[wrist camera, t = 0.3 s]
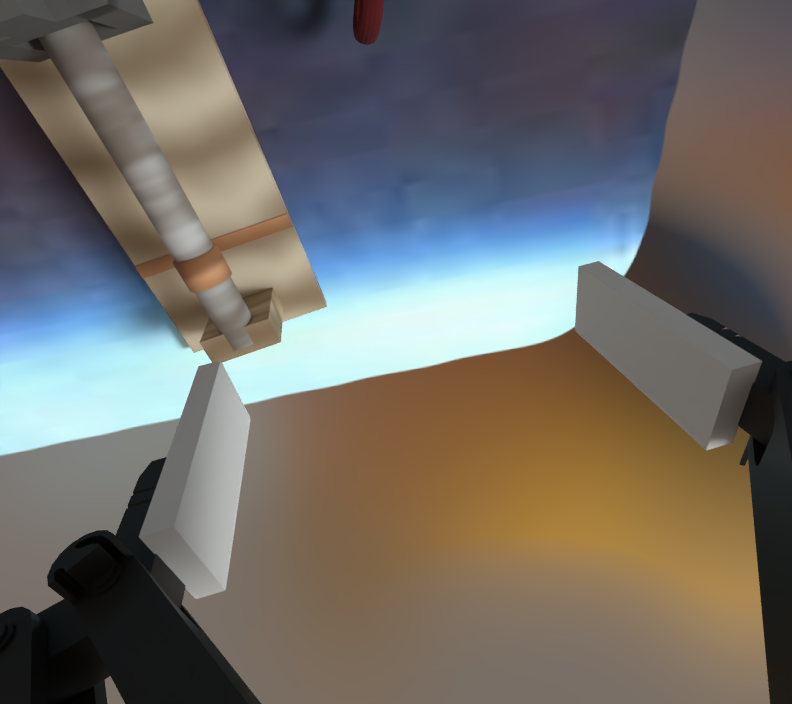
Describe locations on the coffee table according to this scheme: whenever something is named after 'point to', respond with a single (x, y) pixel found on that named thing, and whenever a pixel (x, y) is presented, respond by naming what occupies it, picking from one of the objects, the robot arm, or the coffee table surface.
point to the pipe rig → (175, 174)
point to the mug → (367, 20)
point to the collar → (62, 22)
